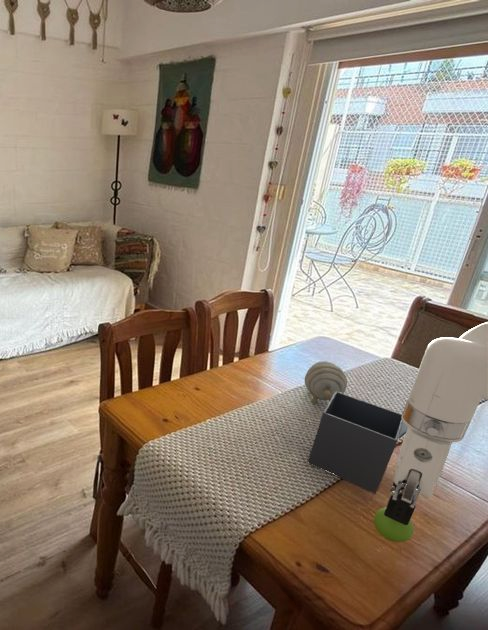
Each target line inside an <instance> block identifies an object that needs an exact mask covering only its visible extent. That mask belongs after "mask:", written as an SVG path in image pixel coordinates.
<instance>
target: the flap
mask: <svg viewBox="0 0 488 630" xmlns="http://www.w3.org/2000/svg"><path fill="white" fill-rule="evenodd" d="M407 428H408V427H407V426H406V425H405V424H404V422H403V423H402V426H401V430H400V433H399V436H398V440H399V439H401V438H402V437H404V436H405V434H406V431H407Z"/></svg>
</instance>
